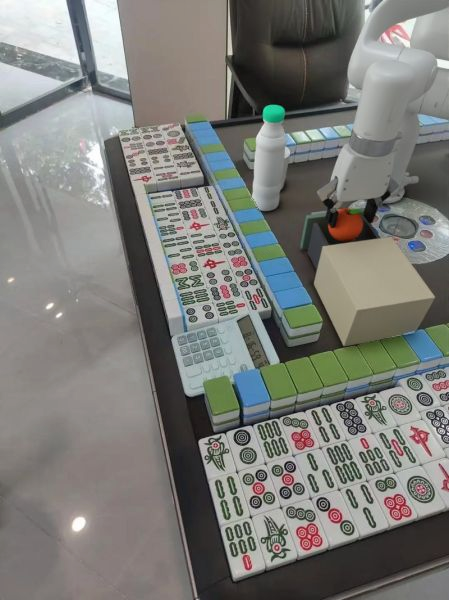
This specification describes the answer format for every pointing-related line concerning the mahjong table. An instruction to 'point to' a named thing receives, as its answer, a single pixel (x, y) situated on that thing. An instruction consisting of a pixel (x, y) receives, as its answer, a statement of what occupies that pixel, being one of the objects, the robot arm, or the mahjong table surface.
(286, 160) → the white cup
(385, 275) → the cabinet
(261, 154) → the water bottle
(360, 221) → the clementine
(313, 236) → the drawer
